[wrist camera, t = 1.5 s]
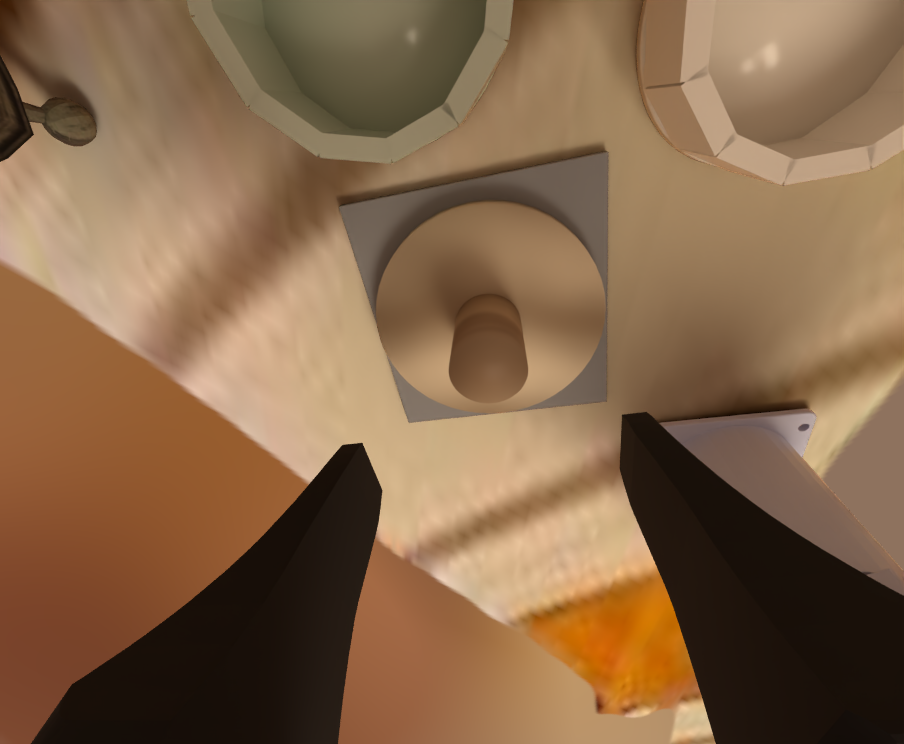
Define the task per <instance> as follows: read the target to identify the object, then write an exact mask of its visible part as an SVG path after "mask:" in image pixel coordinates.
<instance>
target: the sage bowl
mask: <svg viewBox="0 0 904 744" xmlns="http://www.w3.org/2000/svg"><path fill="white" fill-rule="evenodd" d="M513 1H514V0H187V5H188V9H189V14H190V15H191V16H194V17H193V18H192V21H193V22H194V24H195V25H196V27H197V29H198V30H199V32H200V33H201V35H202V37H203V38H204V40H205V41H206V43H207V45H208V46H209V48H210V49H211V51H212V53H213V54H214V56H215V57H216V59H217V60H218V62H219V64H220V65H221V67H222V68H223V70H224V72H225V73H226V75H227V76H228V78H229V80H230V81H231V83H232V84H233V86H234V88H235V89H236V91H237V92H238V94H239V96H240V97H241V99H242V100H243V102H244V103H245V105H246V107H250V108H249V110H251V111H252V112H253V113H255V114H256V115H258V116H259V117H261V118H262V119H264V120H265V121H266V122H268V123H269V124H271V125H272V126H274V127H275V128H276V129H278V130H279V131H281V132H282V133H284V134H285V135H287V136H288V137H289V138H291V139H292V140H294V141H295V142H297V143H298V144H300V145H301V146H302V147H304V148H305V149H307V150H308V151H310V152H311V153H312V154H314V155H315V156H317V157H319V156H320V158H327V159H339V160H351V161H363V162H374V163H386V164H392V163H395V162H397V161H399V160H400V159H402V158H404V157H406V156H407V155H409V154H411V153H413V152H414V151H416V150H418V149H420V148H422V147H423V146H425V145H427V144H429V143H431V142H433V141H435V140H437V139H439V138H440V137H442V136H443V135H445V134H446V133H448V132H450V131H452V130H453V129H455V128H457V127H459V126H460V125H461V124H463V122H465V121H466V119H467V117H468V115H469V114H470V112H471V110H472V109H473V108H474V107H475V105H476V104H477V102H478V101H479V99H480V98H481V96H482V95H483V93H484V92H485V90H486V88H487V86H488V84H489V82H490V80H491V78H492V76H493V75H494V72H495V70H496V68H497V66H498V64H499V63H500V61H501V59H502V58H503V56H504V53H505V50H506V47H507V45H508V41H509V36H510V27H511V18H512V10H513Z"/></svg>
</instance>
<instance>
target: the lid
mask: <svg viewBox="0 0 904 744" xmlns="http://www.w3.org/2000/svg"><path fill="white" fill-rule="evenodd" d="M605 311H606V304H605V292H604V288H603V283H602V279H601V277H600V274H599V272H598V269H597V267H596V264H595V263H594V261H593V259H592V258H591V256H590V254H589V253H588V251H587V250H586V248H585V247H584V245H583V244H582V243H581V242H580V240H579V239H578V238H577V237H576V235H575V234H574V233H573V232H572V231H571V230H570V229H568V228H567V227H566V226H565V225H564V224H563V223H562V222H560V221H559V220H557V219H556V218H554V217H553V216H551V215H550V214H548V213H545V212H543V211H541V210H539V209H537V208H535V207H532V206H528V205H525V204H522V203H518V202H512V201H506V200H480V201H472V202H467V203H463V204H460V205H456V206H453V207H450V208H448V209H446V210H443V211H441V212H439V213H437V214H435V215H434V216H432V217H430V218H429V219H427V220H425V221H424V222H423V223H421V224H420V225H419V226H418V227H416V228H415V229H414V230H413V231H412V232H411V233H410V234H409V235H408V236H407V237H406V238H405V239H404V240H403V242H402V243H401V245H400V246H399V247H398V249H397V250H396V252H395V253H394V255H393V256H392V258H391V259H390V261H389V263H388V265H387V267H386V269H385V271H384V273H383V276H382V279H381V282H380V285H379V289H378V295H377V300H376V319H377V328H378V332H379V336H380V339H381V342H382V345H383V347H384V350H385V352H386V354H387V356H388V357H389V359H390V361H391V363H392V364H393V366H394V367H395V368H396V370H397V371H398V372H399V374H400V375H401V376H402V377H403V378H404V379H405V380H406V381H407V382H408V383H409V384H410V385H412V386H413V387H414V388H415V389H417V390H418V391H419V392H421V393H422V394H424V395H425V396H427V397H428V398H430V399H432V400H434V401H436V402H438V403H441V404H443V405H446V406H449V407H451V408H455V409H459V410H463V411H468V412H475V413H504V412H510V411H516V410H520V409H523V408H527V407H530V406H533V405H535V404H538V403H540V402H542V401H544V400H546V399H548V398H550V397H552V396H554V395H555V394H557V393H558V392H560V391H561V390H563V389H564V388H565V387H566V386H567V385H569V384H570V383H571V382H572V381H573V380H574V379H575V378H576V377H577V376H578V375H579V374H580V373H581V372H582V371H583V369H584V368H585V367H586V365H587V364H588V362H589V361H590V360H591V358H592V356H593V354H594V352H595V350H596V348H597V346H598V343H599V341H600V338H601V336H602V331H603V327H604V323H605Z"/></svg>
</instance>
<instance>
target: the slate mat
mask: <svg viewBox="0 0 904 744" xmlns="http://www.w3.org/2000/svg"><path fill="white" fill-rule="evenodd" d="M480 200H506V201H512V202H518V203H522V204H525V205H528V206H532V207H535V208H537V209H539V210H541V211H543V212H545V213H548V214H550V215H551V216H553V217H554V218H556V219H557V220H559V221H560V222H562V223H563V224H564V225H565V226H566V227H567V228H568V229H570V230H571V231H572V232H573V233H574V234H575V235H576V237H577V238H578V239H579V240H580V242H581V243H582V244H583V245H584V247H585V248H586V250H587V251H588V253H589V254H590V256H591V258H592V259H593V261H594V263H595V264H596V267H597V269H598V272H599V274H600V277H601V279H602V283H603V288H604V292H605V304H606V311H605V323H604V327H603V331H602V336H601V338H600V341H599V343H598V346H597V348H596V350H595V352H594V354H593V356H592V358H591V360H590V361H589V362H588V364H587V365H586V367H585V368H584V369H583V371H582V372H581V373H580V374H579V375H578V376H577V377H576V378H575V379H574V380H573V381H572V382H571V383H570V384H569V385H567V386H566V387H565V388H564V389H563V390H561V391H560V392H558V393H557V394H555V395H554V396H552V397H550V398H548V399H546V400H544V401H542V402H540V403H538V404H535V405H533V406H530V407H527V408H523V409H520V410H516V411H523V410H532V409H542V408H551V407H560V406H570V405H579V404H588V403H597V402H607V272H608V152H607V151H604V152H599V153H594V154H589V155H585V156H580V157H575V158H570V159H565V160H560V161H555V162H550V163H545V164H540V165H535V166H531V167H526V168H521V169H516V170H511V171H506V172H501V173H496V174H491V175H486V176H481V177H477V178H472V179H467V180H462V181H457V182H452V183H447V184H442V185H437V186H432V187H427V188H423V189H418V190H413V191H408V192H403V193H398V194H393V195H388V196H383V197H378V198H373V199H369V200H364V201H359V202H354V203H349V204H344V205H341V206H339V209H340V212H341V215H342V218H343V221H344V224H345V227H346V230H347V234H348V237H349V240H350V243H351V246H352V249H353V252H354V255H355V258H356V261H357V264H358V268H359V271H360V274H361V277H362V280H363V283H364V286H365V289H366V292H367V295H368V298H369V301H370V305H371V308H372V311H373V314H374V317H375V320H376V323H377V319H376V300H377V295H378V289H379V285H380V282H381V279H382V276H383V273H384V271H385V269H386V267H387V265H388V263H389V261H390V259H391V258H392V256H393V255H394V253H395V252H396V250H397V249H398V247H399V246H400V245H401V243H402V242H403V240H404V239H405V238H406V237H407V236H408V235H409V234H410V233H411V232H412V231H413V230H414V229H415V228H416V227H418V226H419V225H420V224H421V223H423V222H424V221H425V220H427V219H429V218H430V217H432V216H434V215H435V214H437V213H439V212H441V211H443V210H446V209H448V208H450V207H453V206H456V205H460V204H463V203H467V202H472V201H480ZM387 357H388V356H387ZM388 360H389V363H390V366H391V369H392V372H393V376H394V379H395V382H396V385H397V388H398V391H399V394H400V397H401V400H402V403H403V406H404V410H405V413H406V416H407V419H408V422H409V423H412V422H421V421H430V420H439V419H449V418H458V417H467V416H477V415H486V414H495V413H475V412H468V411H463V410H459V409H455V408H451V407H449V406H446V405H443V404H441V403H438V402H436V401H434V400H432V399H430V398H428V397H427V396H425V395H424V394H422V393H421V392H419V391H418V390H417V389H415V388H414V387H413V386H412V385H410V384H409V383H408V382H407V381H406V380H405V379H404V378H403V377H402V376H401V375H400V374H399V372H398V371H397V370H396V368H395V367H394V366H393V364H392V363H391V361H390V359H389V357H388ZM510 412H514V411H510Z"/></svg>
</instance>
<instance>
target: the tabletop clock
mask: <svg viewBox="0 0 904 744" xmlns="http://www.w3.org/2000/svg"><path fill="white" fill-rule="evenodd" d="M30 122H36V123H42V124H43V126H44V128H45V129H46V130H47V131H48V132H49V133H50V134H51V135H52V136H53V137H54V138H56V139H58V140H59V141H61V142H63V143H65V144H68V145H71V146H83V145H86V144H88V143H89V142H91V141H92V140H93V139H94V138H95V137H96V133H97V129H96V124H95V121H94V119H93V117H92V116H91V115H90V114H89V112H88V111H87V110H86V109H85V108H84V107H82V106H81V105H79V104H77V103H75V102H74V101H72V100H69V99H66V98H60V97H55V98H52V99H49V100H48V101H47V102H46V103H44V104H43V105H42V106H41V108H40V107H37V106H34V105H31V104H28V103H24V102H22V100H21V97H20V94H19V91H18V89H17V87H16V85H15V83H14V81H13V79H12V77H11V75H10V73H9V71H8V69H7V67H6V65H5V63H4V61H3V59H2V57H1V56H0V162H1V161H3V160H5V159H8V158H9V157H10V156H11V155H12V154H13V153H14V152H15V151H16V150H18V149H19V148H20V147H21V146H22V145H23V144H24V143H25V142H26V141H27V140H28V139H30V138H31V137H32V136H33V135H34V134H33V131H32V128H31V125H30Z"/></svg>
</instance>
